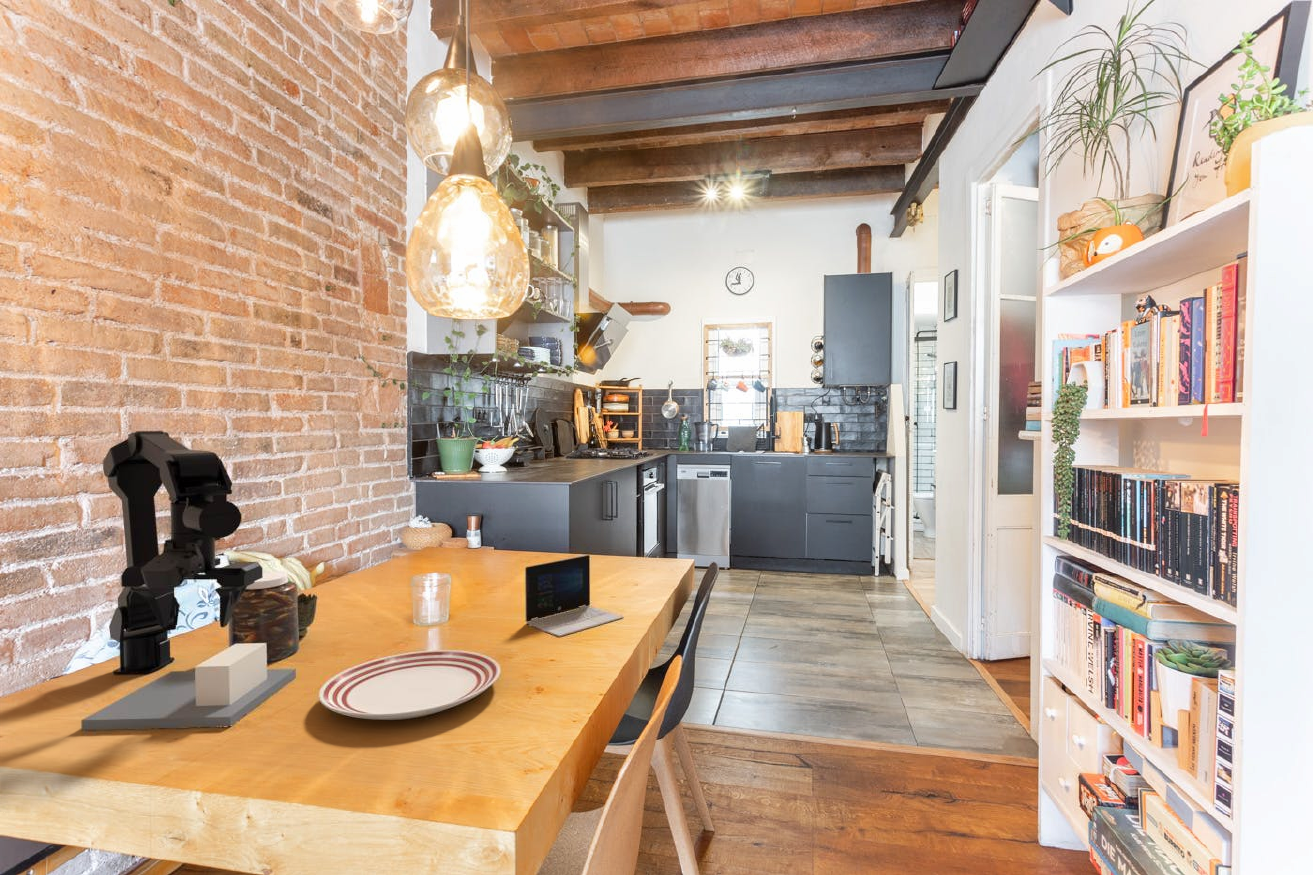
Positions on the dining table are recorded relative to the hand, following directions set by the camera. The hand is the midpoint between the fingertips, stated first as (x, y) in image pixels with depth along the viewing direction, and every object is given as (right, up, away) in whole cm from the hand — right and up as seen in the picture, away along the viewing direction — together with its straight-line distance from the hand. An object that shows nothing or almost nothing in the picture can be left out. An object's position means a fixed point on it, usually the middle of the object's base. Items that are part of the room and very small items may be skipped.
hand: (194, 626), depth 102 cm
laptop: (+57, -11, +39) cm, 69 cm away
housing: (+7, -10, -1) cm, 12 cm away
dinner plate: (+35, -12, +1) cm, 37 cm away
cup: (0, -11, +30) cm, 32 cm away
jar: (-1, -11, +20) cm, 23 cm away
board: (+2, -12, -1) cm, 12 cm away
